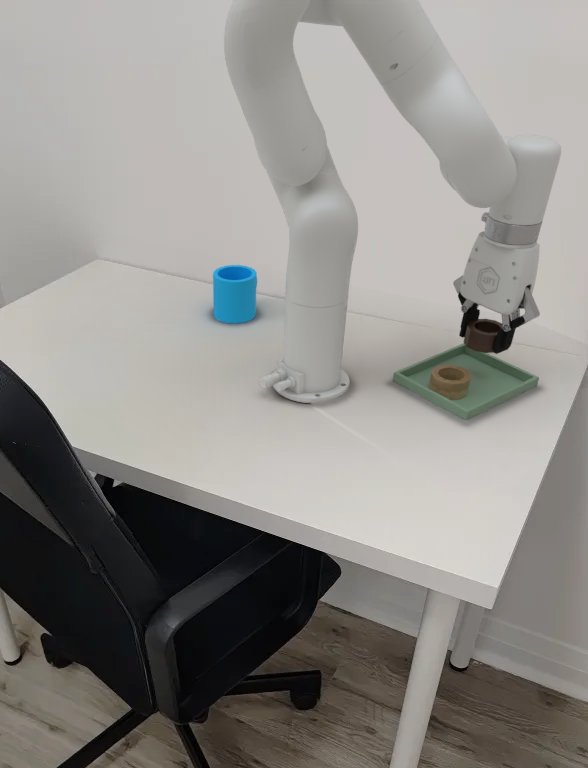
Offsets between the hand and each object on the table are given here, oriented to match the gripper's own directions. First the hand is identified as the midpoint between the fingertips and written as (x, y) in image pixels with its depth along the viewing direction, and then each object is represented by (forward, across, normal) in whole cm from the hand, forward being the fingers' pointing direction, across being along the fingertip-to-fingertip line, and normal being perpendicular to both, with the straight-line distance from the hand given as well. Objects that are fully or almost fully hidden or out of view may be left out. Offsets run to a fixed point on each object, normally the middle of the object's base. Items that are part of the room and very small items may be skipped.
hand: (483, 341), depth 123 cm
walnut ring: (0, 0, 0) cm, 0 cm away
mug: (+8, -45, -15) cm, 48 cm away
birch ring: (+6, 0, -7) cm, 9 cm away
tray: (+7, 0, -3) cm, 8 cm away
